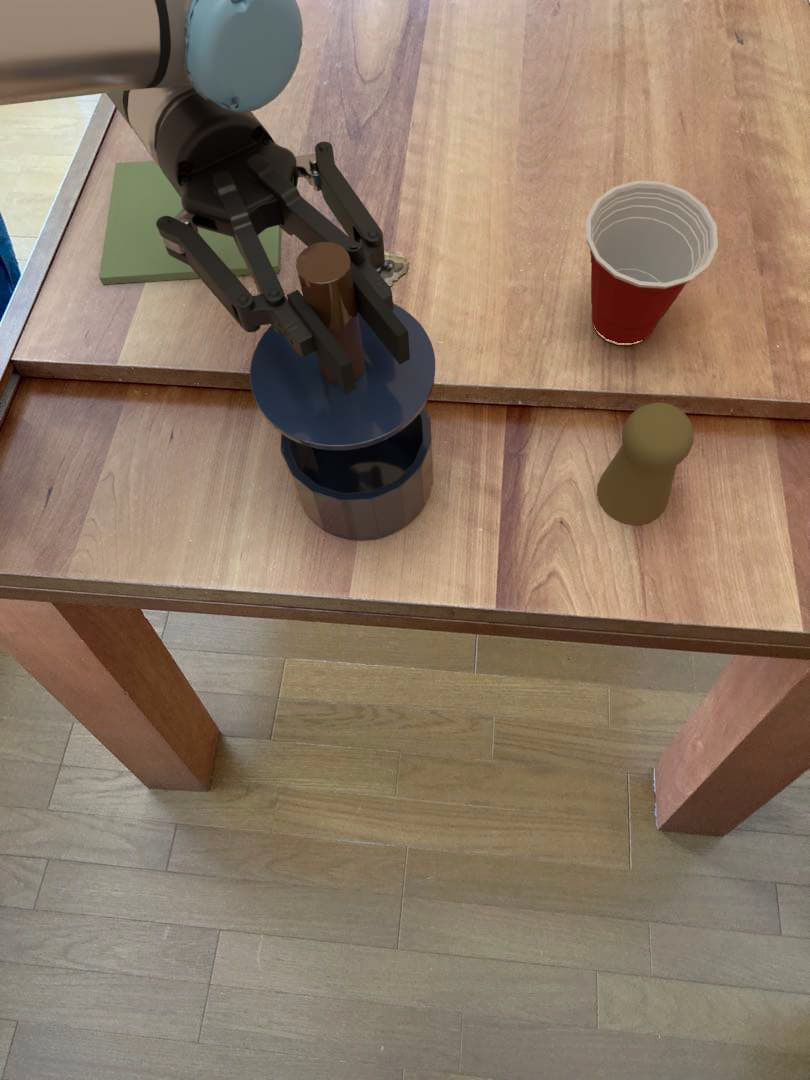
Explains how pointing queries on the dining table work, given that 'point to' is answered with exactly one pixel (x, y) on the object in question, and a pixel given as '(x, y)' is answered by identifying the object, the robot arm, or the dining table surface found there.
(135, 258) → the mat
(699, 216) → the plastic cup
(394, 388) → the lid
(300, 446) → the pot
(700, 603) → the dining table surface
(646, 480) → the pepper shaker
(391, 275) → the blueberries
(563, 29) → the dining table surface
